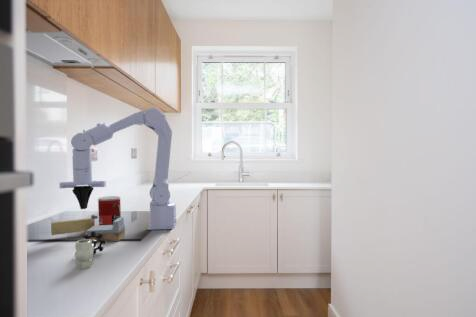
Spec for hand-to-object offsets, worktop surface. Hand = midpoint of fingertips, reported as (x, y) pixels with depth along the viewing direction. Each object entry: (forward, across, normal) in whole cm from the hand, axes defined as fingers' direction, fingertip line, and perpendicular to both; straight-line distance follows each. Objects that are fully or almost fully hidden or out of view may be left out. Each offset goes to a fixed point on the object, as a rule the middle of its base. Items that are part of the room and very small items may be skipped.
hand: (83, 208), depth 104 cm
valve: (+10, +11, -25) cm, 29 cm away
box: (+9, +9, -5) cm, 14 cm away
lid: (+7, +9, -5) cm, 12 cm away
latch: (+8, -3, 0) cm, 9 cm away
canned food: (+10, +4, +13) cm, 17 cm away
